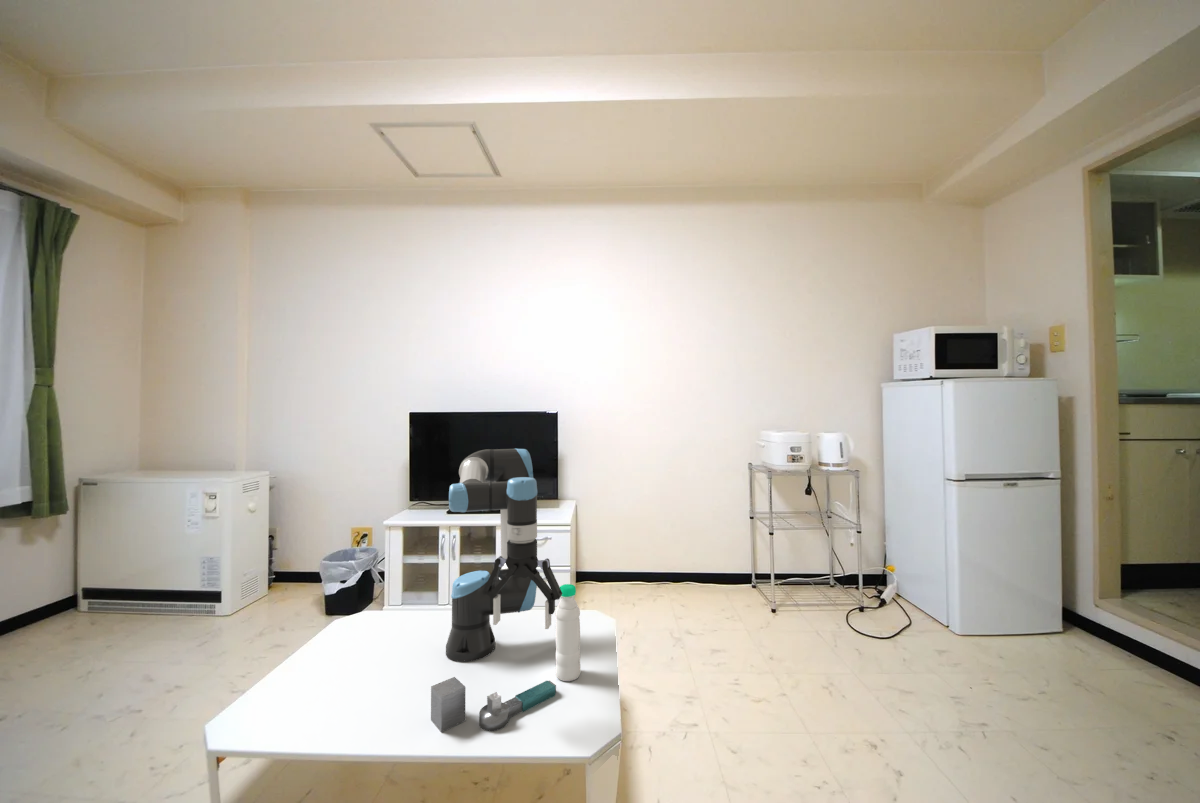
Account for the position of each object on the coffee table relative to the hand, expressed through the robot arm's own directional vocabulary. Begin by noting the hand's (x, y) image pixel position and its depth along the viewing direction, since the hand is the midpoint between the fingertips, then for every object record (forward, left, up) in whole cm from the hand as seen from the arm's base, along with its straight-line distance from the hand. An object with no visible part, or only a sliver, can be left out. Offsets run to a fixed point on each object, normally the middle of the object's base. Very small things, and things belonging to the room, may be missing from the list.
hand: (522, 624), depth 114 cm
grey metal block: (-9, -15, -21) cm, 28 cm away
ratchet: (-1, 0, -21) cm, 21 cm away
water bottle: (-5, +18, -21) cm, 28 cm away
